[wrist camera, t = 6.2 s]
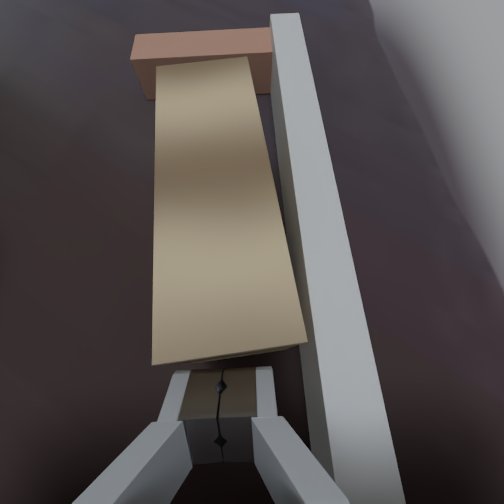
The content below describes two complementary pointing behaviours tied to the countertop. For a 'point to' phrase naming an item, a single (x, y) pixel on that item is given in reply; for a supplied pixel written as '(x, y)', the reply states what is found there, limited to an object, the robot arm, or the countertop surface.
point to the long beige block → (217, 222)
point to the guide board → (307, 251)
